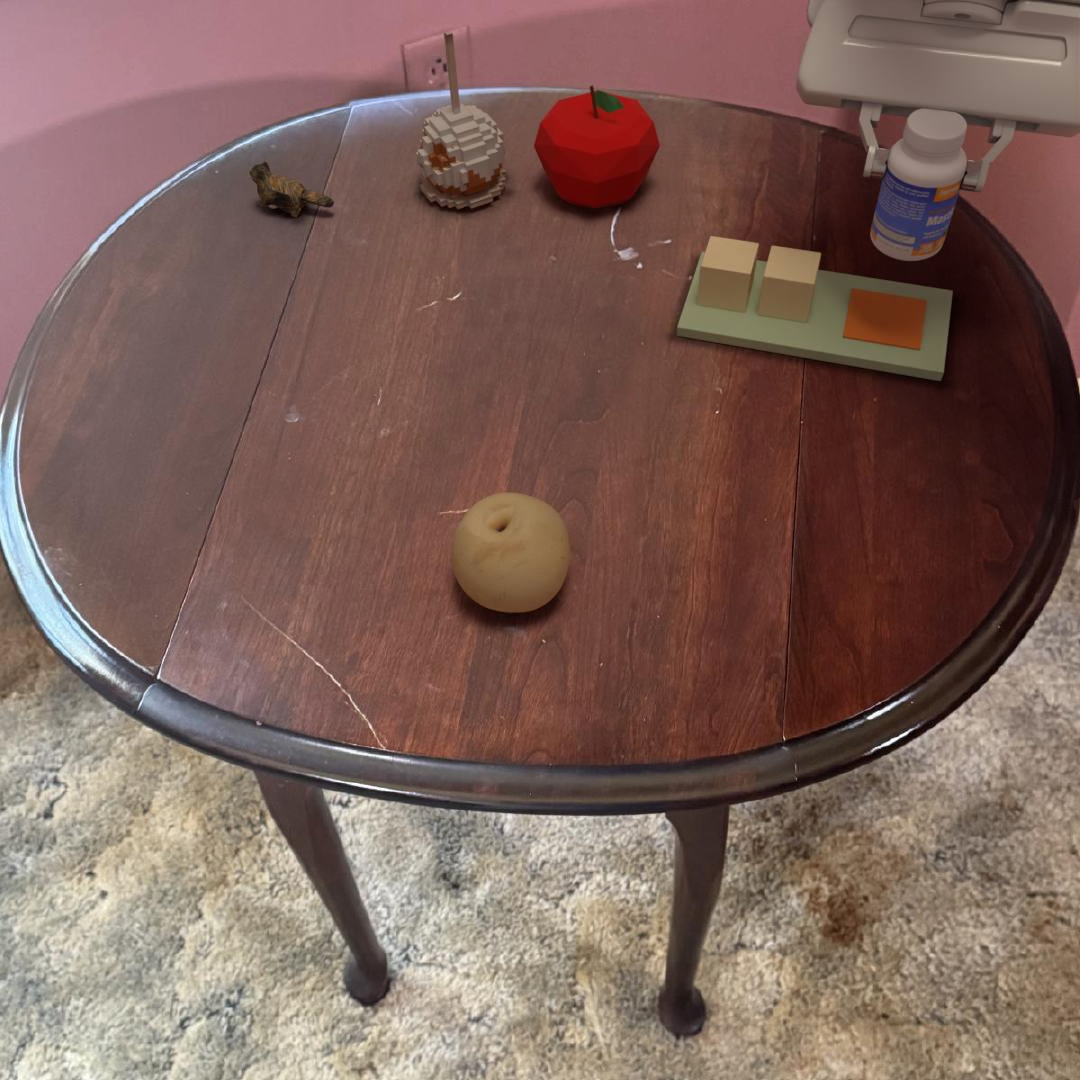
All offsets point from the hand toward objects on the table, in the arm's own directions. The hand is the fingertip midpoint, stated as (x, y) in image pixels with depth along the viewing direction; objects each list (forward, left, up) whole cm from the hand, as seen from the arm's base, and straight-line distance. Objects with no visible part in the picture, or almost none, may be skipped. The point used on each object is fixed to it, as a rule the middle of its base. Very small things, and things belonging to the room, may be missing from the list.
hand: (922, 183), depth 79 cm
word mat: (+5, -1, -14) cm, 15 cm away
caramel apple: (+39, -11, -14) cm, 43 cm away
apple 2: (+27, -14, -15) cm, 34 cm away
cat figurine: (+53, -4, -14) cm, 55 cm away
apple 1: (+21, +31, -14) cm, 40 cm away
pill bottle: (0, -1, -6) cm, 6 cm away
